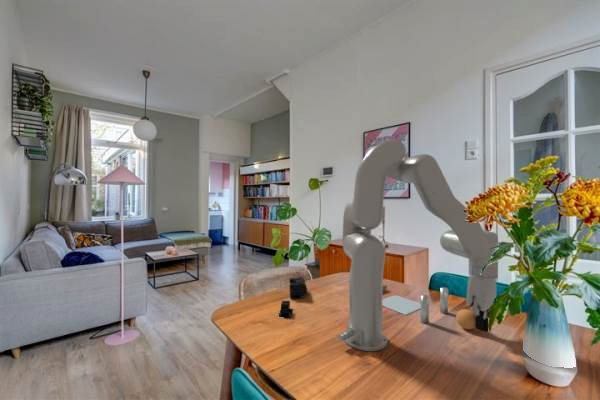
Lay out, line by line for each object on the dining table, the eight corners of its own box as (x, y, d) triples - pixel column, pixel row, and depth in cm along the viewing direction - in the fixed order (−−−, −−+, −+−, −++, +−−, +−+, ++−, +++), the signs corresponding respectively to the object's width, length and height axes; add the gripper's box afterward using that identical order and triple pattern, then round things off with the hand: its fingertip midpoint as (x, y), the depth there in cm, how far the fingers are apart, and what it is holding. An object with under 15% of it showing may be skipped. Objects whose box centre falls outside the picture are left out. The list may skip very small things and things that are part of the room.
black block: (293, 323, 93) (293, 310, 93) (272, 322, 94) (272, 309, 94) (296, 308, 106) (296, 296, 106) (277, 307, 106) (277, 296, 106)
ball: (473, 316, 84) (454, 307, 89) (470, 334, 84) (451, 325, 90) (483, 313, 87) (463, 305, 92) (480, 331, 88) (461, 322, 93)
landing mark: (405, 315, 98) (405, 314, 98) (374, 302, 110) (374, 302, 110) (426, 306, 106) (426, 305, 106) (395, 295, 118) (395, 294, 118)
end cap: (307, 299, 114) (307, 283, 113) (290, 299, 113) (290, 283, 113) (305, 290, 123) (305, 276, 123) (289, 291, 123) (289, 276, 123)
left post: (426, 324, 91) (426, 297, 91) (419, 321, 93) (419, 295, 93) (430, 322, 93) (430, 296, 92) (423, 319, 95) (423, 294, 94)
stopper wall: (359, 299, 113) (359, 293, 113) (356, 297, 115) (356, 291, 115) (386, 290, 124) (386, 285, 124) (383, 289, 125) (383, 283, 125)
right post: (445, 314, 99) (446, 290, 98) (438, 312, 101) (438, 288, 101) (449, 312, 100) (449, 288, 100) (442, 310, 102) (442, 286, 102)
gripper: (480, 265, 92) (480, 319, 92) (458, 272, 83) (457, 331, 83) (506, 270, 85) (506, 328, 86) (485, 278, 77) (485, 342, 77)
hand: (482, 329), depth 85 cm, fingers closed
